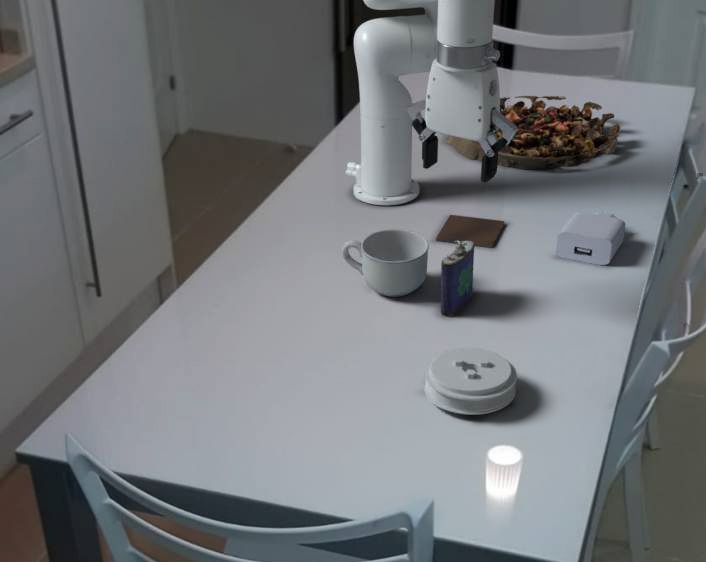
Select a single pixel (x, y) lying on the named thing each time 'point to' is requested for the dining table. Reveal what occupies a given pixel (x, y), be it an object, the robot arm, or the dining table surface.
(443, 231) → the board
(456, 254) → the dark blue piece
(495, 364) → the lid
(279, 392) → the dining table surface
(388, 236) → the teacup
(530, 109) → the food dish
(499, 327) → the dining table surface
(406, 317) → the dining table surface
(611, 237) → the charger
